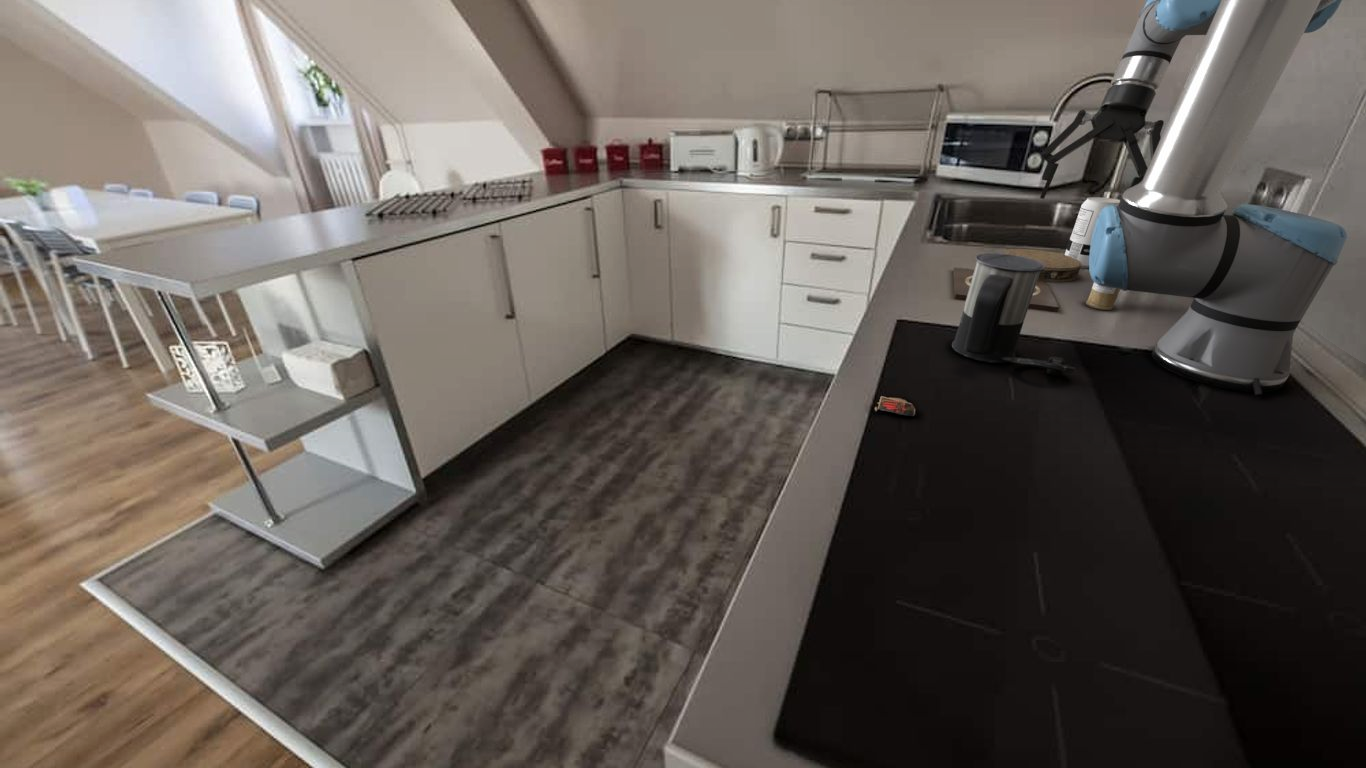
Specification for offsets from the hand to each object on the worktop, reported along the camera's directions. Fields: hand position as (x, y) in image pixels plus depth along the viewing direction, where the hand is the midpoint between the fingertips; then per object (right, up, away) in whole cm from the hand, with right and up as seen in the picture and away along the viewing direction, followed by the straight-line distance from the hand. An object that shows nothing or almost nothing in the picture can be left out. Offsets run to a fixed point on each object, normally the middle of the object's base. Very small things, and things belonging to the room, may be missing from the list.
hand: (1079, 205), depth 110 cm
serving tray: (-12, -16, +6) cm, 21 cm away
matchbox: (-51, -39, -37) cm, 74 cm away
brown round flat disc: (+3, -9, +19) cm, 21 cm away
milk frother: (-28, -32, -24) cm, 49 cm away
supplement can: (+18, -7, +24) cm, 31 cm away
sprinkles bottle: (+2, -20, -2) cm, 21 cm away
